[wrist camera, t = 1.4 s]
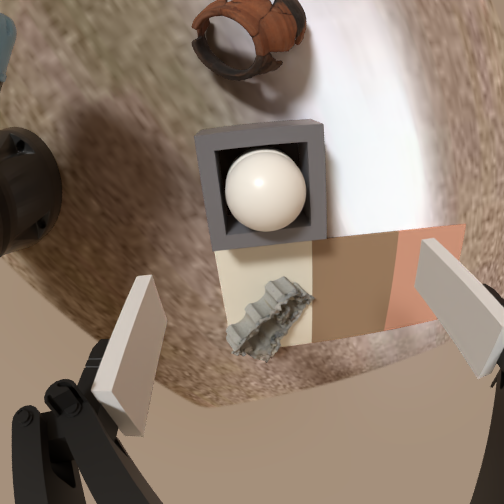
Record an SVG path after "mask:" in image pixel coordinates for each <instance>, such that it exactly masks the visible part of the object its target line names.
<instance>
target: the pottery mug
mask: <svg viewBox="0 0 504 504" xmlns="http://www.w3.org/2000/svg"><path fill="white" fill-rule="evenodd" d="M214 16H225V17H228V18H231V19H233V20H235V21H236V22H238V23H239V24H240V25H242V26H243V27H244V28H245V29H246V30H247V32H248V33H249V34H250V36H251V37H252V40H253V42H254V45H255V50H256V58H255V61H254V63H253V65H252V66H251V67H250V68H248V69H246V70H236V69H234V68H232V67H229V66H227V65H225V64H224V63H223V62H222V61H221V60H220V59H219V58H218V57H217V56H215V55H214V53H213V52H212V51H211V50H210V48H209V46H208V44H207V40H206V37H205V31H206V30H207V28H208V26H209V24H210V21H209V18H210V17H214ZM192 28H194V29H195V30H197V33H198V38H197V39H195V40H193V41H192V47H193V49H194V51H195V53H196V54H197V56H198V58H199V59H200V60H201V62H202V63H203V64H204V65H205V66H206V67H208V68H209V69H211V70H212V71H213V72H214V73H216V74H217V75H220V76H222V77H224V78H226V79H230V80H238V81H240V80H245V79H248V78H252V77H253V76H255V75H258V74H265V73H267V72H269V71H275V70H277V69H278V68H279V67H280V66H281V65H282V63H283V62H282V61H276V59H274V58H273V57H272V55H271V54H270V52H284V51H289V50H290V49H291V48H292V47H293V46H294V42H295V44H296V45H299V44H300V43H301V41H302V40H303V37H304V33H305V30H306V15H305V12H304V10H303V8H302V6H301V4H300V3H299V2H298V0H275V1H274V3H273V5H272V4H271V1H270V0H232V1H230V2H227V0H216V1H215V2H213V3H211V4H209V5H208V6H207V7H206V8H205V9H204V10H203V11H202V12H201V13H200V14H198V16H197V17H196V18H195V19H194V21H193V24H192ZM295 38H296V40H295Z"/></svg>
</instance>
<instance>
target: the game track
mask: <svg viewBox="0 0 504 504" xmlns="http://www.w3.org/2000/svg"><path fill="white" fill-rule="evenodd" d="M465 228H466V224H459V225H449V226H440V227H430V228H420V229H410V230H401V231H391V232H382V233H372V234H363V235H353V236H344V237H335V238H327V239H321V240H312V241H303V242H293V243H284V244H275V245H266V246H257V247H248V248H239V249H230V250H221V251H215V257H216V263H217V268H218V274H219V279H220V285H221V290H222V295H223V301H224V306H225V311H226V316H227V322H228V326H229V325H231V324H235V323H238V322H239V321H241V320H242V319H243V317H244V316H245V313H246V311H245V310H244V309H245V307H246V306H247V305H248V304H249V303H254V302H257V301H258V300H260V299H261V298H262V297H263V296H264V294H265V285H266V284H267V283H268V282H269V281H274V280H277V279H279V278H281V277H283V276H285V277H286V278H288V280H289V281H290V282H291V283H292V284H293V283H294V282H296V283H298V284H299V285H300V286H301V287H302V288H303V289H304V290H305V291H306V292H307V293H308V294H309V295H312V296H313V297H314V298H315V299H314V300H313V301H312V302H311V303H310V304H309V305H308V304H307V305H306V308H304V309H303V312H302V314H301V315H300V317H299V318H298V320H297V321H296V322H294V323H293V324H292V326H291V327H290V328H289V330H288V334H287V335H286V336H284V337H283V338H282V339H281V340H280V343H281V346H280V347H285V346H293V345H301V344H308V343H315V342H322V341H329V340H335V339H341V338H347V337H353V336H359V335H365V334H370V333H376V332H381V331H386V330H391V329H396V328H401V327H405V326H410V325H415V324H419V323H424V322H428V321H432V320H437V319H438V318H437V317H436V316H435V314H434V313H433V311H432V310H431V309H430V307H429V306H428V305H427V303H426V302H425V301H424V299H423V298H422V296H421V295H420V294H419V292H418V291H417V290H416V289H415V287H414V285H415V279H416V273H417V267H418V261H419V254H420V247H421V240H422V239H429V238H435V239H436V240H437V241H438V242H439V243H440V244H441V245H442V246H443V247H445V248H446V249H447V250H448V251H449V252H450V253H451V254H452V255H453V256H454V257H455V258H456V259H457V260H458V261H459V259H460V254H461V249H462V244H463V239H464V234H465ZM289 299H290V300H294V298H293V296H292V297H290V298H289ZM233 351H234V350H233Z"/></svg>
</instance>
